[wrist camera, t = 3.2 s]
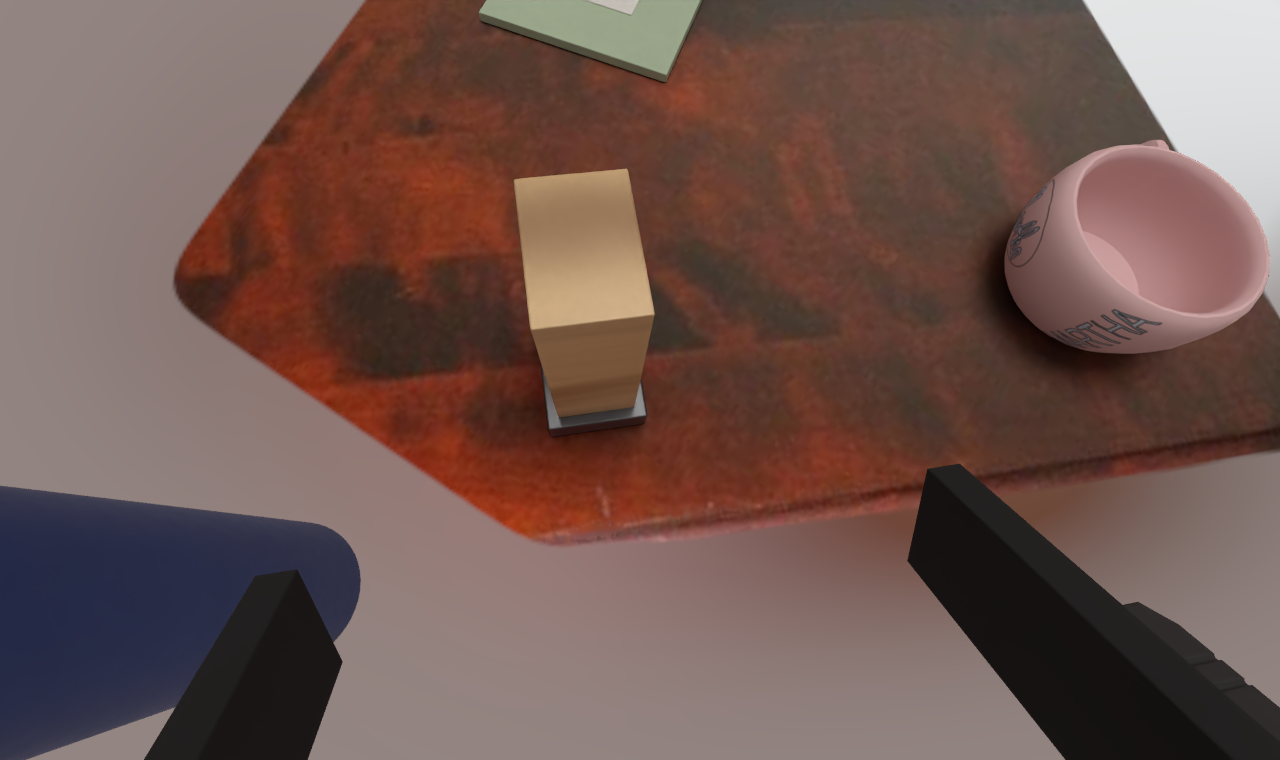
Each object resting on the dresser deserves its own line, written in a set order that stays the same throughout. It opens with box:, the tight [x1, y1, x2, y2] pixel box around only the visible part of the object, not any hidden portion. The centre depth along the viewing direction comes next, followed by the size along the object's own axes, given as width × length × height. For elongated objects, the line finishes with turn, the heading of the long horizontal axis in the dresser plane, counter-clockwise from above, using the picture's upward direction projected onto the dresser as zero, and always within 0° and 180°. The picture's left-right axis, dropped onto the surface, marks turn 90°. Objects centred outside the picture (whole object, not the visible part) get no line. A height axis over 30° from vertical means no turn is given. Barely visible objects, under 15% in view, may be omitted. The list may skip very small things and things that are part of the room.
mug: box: [1004, 140, 1270, 354], centre depth 28 cm, size 12×10×6 cm
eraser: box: [514, 169, 655, 437], centre depth 21 cm, size 6×4×12 cm
